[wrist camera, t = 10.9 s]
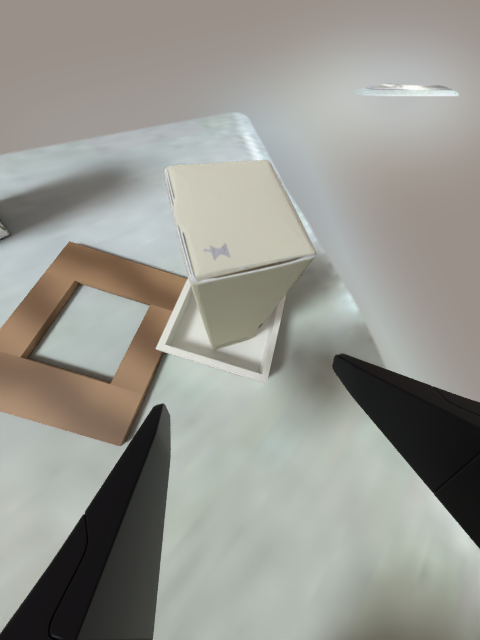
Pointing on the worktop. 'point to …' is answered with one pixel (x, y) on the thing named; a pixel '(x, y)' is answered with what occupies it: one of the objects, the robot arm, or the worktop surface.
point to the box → (236, 243)
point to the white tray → (241, 359)
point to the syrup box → (3, 231)
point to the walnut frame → (70, 387)
